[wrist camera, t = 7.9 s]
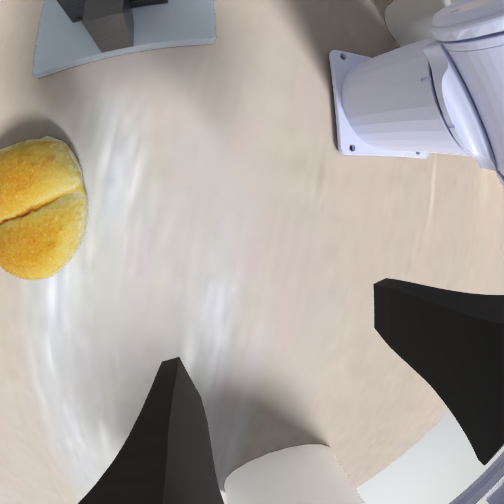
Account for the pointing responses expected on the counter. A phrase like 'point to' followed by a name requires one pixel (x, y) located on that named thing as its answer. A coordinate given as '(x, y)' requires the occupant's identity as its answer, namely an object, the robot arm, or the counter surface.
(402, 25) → the lumpy-topped squat cylinder
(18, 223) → the bread roll
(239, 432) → the counter surface
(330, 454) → the canister
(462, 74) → the robot arm
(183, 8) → the mounting board
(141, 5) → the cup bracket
